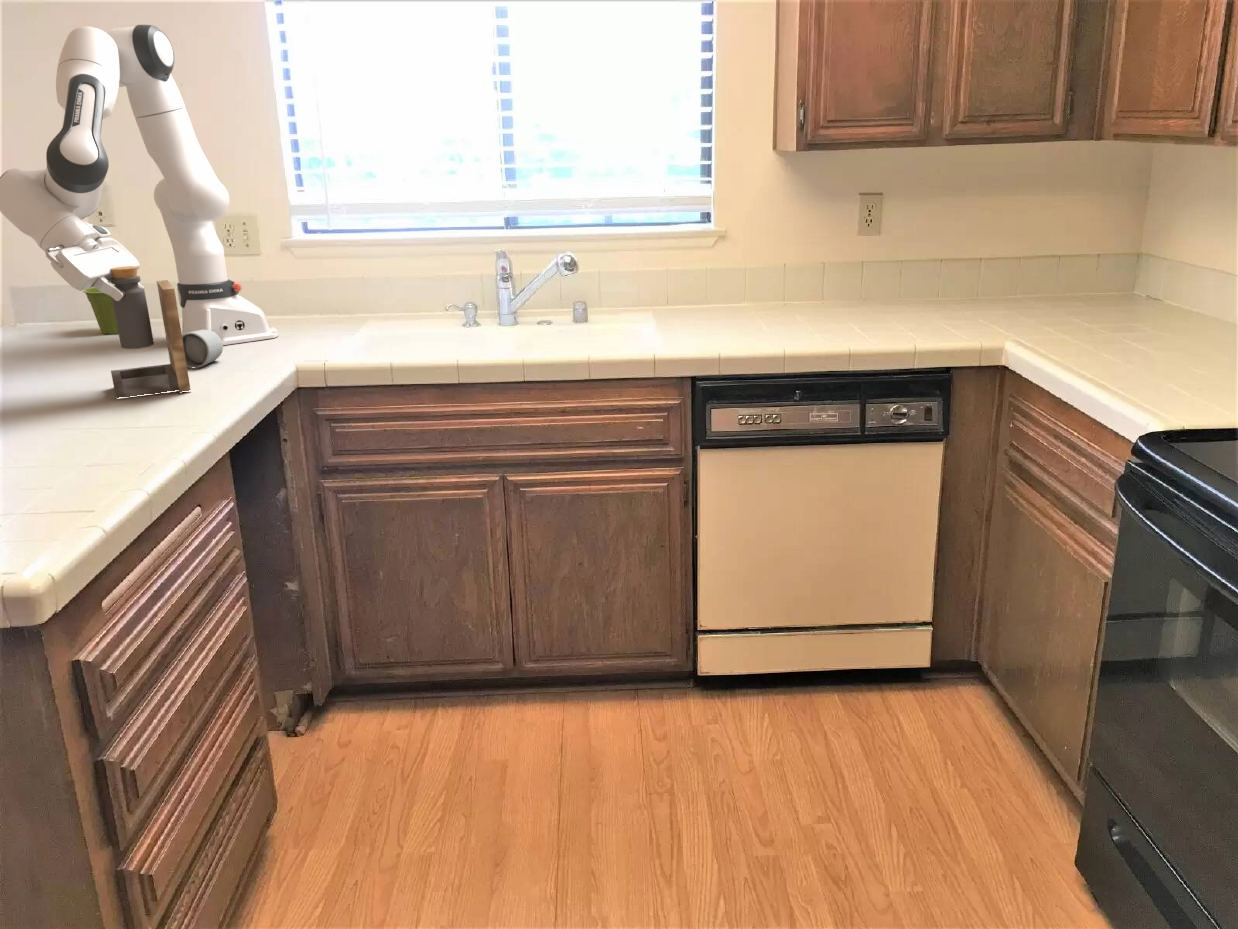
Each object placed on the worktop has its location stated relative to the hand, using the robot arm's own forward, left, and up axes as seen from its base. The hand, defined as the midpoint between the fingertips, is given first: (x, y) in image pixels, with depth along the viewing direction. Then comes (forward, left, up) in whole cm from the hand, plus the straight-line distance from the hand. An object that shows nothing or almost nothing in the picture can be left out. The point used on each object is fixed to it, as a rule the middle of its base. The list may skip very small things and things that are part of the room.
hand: (131, 295), depth 191 cm
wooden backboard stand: (0, 0, -19) cm, 19 cm away
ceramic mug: (-11, -20, -19) cm, 30 cm away
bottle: (+1, 0, -10) cm, 10 cm away
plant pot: (+2, -73, -19) cm, 76 cm away
